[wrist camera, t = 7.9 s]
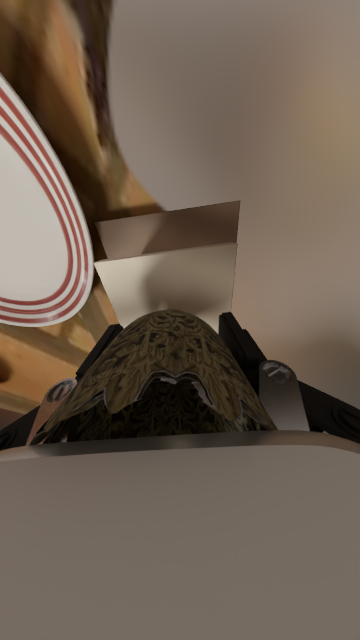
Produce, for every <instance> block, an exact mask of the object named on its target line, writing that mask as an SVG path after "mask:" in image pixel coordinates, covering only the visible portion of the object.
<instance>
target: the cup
mask: <svg viewBox="0 0 360 640" xmlns="http://www.w3.org/2000/svg"><path fill="white" fill-rule="evenodd" d="M79 413H80V414H79ZM77 414H79V422H78V430H77V437H76V441H75V442H77V441H92V440H95V438H96V436H97V434H98V432H99V433H100V435H101V438H102V440H107V439H122V438H138V437H154V436H171V435H187V434H205V433H222V432H240V431H257V429H256V427H257V422H258V423H259V424H260V425H262V426H263V427H265V428H266V429H268V430H278V428H277V427H276V425H275V424H274V422H273V420H272V419H271V417H270V416H269V414H268V413H267V411H266V409H265V408H264V406H263V404H262V403H261V401H260V399H259V398H258V396H257V394H256V393H255V391H254V389H253V388H252V386H251V384H250V383H249V381H248V380H247V378H246V376H245V375H244V373H243V371H242V370H241V368H240V366H239V365H238V363H237V362H236V360H235V358H234V357H233V355H232V354H231V352H230V351H229V349H228V348H227V346H226V345H225V343H224V342H223V340H222V339H221V337H220V336H219V335H218V334H217V333H216V331H215V330H214V329H213V328H212V327H211V326H210V325H209V324H207V323H206V322H205V321H203V320H202V319H200V318H199V317H197V316H195V315H193V314H190V313H187V312H184V311H181V310H178V309H165V310H160V311H155V312H151V313H148V314H146V315H143V316H141V317H139V318H137V319H136V320H134V321H133V322H132V323H130V324H129V325H128V326H127V327H125V328H124V329H123V330H122V331H121V332H120V333H119V334H118V335H117V336H116V337H115V339H114V340H113V341H112V342H111V343H110V344H109V345H108V347H107V348H106V349H105V350H104V351H103V353H102V354H101V355H100V356H99V357H98V359H97V360H96V361H95V362H94V363H93V365H92V366H91V367H90V368H89V369H88V371H87V372H86V373H85V374H84V376H83V377H82V378H81V379H80V381H79V382H78V383H77V384H76V385H75V387H74V388H73V389H72V390H71V392H70V393H69V394H68V395H67V397H66V398H65V399H64V400H63V401H62V403H61V404H60V405H59V406H58V408H57V409H56V410H55V411H54V412H53V413H52V415H51V416H50V418H49V419H48V420H47V421H46V422H45V423H44V424H43V426H42V427H41V428H40V429H39V430H38V431H37V433H36V434H35V436H34V437H33V439H32V441H31V442H30V444H29V445H37V444H39V443H40V442H42V441H43V440H44V439H45V440H44V442H43V444H51V443H52V442H53V441H54V440H55V438H56V437H57V436H58V434H59V433H60V431H61V430H62V428H63V427H64V426H65V424H66V423H67V421H68V420H69V418H70V417H71V416H74V415H77ZM63 420H64V421H63ZM62 421H63V422H62ZM61 422H62V424H61V425H60V423H61ZM59 425H60V427H59V429H58V430H57V432H56V434H55V435H54V437H53V438H52V436H53V434H54V432H55V431H56V429H57V428H58V426H59ZM51 438H52V440H51ZM50 440H51V441H50Z"/></svg>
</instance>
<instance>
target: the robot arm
mask: <svg viewBox="0 0 360 640" xmlns="http://www.w3.org/2000/svg"><path fill="white" fill-rule="evenodd" d="M123 329H124V328H123V326H120V324H114V325H110V326H109V327H108V329H107V330H106V331H105V333H104V334H103V336H102V337H101V338H100V340H99V341H98V343H97V344H96V345H95V347H94V348H93V350H92V351H91V352H90V354H89V355H88V357H87V358H86V359H85V361H84V362H83V364H82V365H81V366H80V368H79V369H78V371H77V372H76V375H77V376H76V378H66V379H63V380H61V381H59V382H58V383H56V384H55V385H53V386H52V387H51V388H50V389H49V390H48V391H47V393H46V394H45V396H44V398H43V400H42V403H41V405H40V406H38V407H36V408H35V409H33V410H32V411H30V412H29V413H27V414H26V415H24V416H22V417H21V418H19V419H18V420H16V421H15V422H13V423H12V424H10V425H8V426H7V427H5V428H4V429H2V430H1V431H0V640H360V410H359V409H357V408H355V407H353V406H351V405H349V404H347V403H345V402H343V401H341V400H339V399H337V398H335V397H332V396H330V395H328V394H326V393H324V392H321V391H320V390H317V389H315V388H313V387H311V386H309V385H307V384H305V383H302V382H300V381H298V380H297V377H296V374H295V373H294V372H293V370H292V369H291V368H290V367H288V366H287V365H285V364H284V363H282V362H279V361H275V360H267V359H266V357H265V356H264V355H263V353H262V352H261V350H260V349H259V348H258V346H257V344H256V343H255V341H254V340H253V338H252V337H251V336H250V334H249V333H248V331H247V330H246V329H242V328H241V327H240V325H239V324H238V322H237V320H236V319H235V317H234V316H233V314H232V313H231V312H224V313H222V315H219V327H218V335H219V336H220V337H221V339H222V340H223V342H224V343H225V345H226V346H227V348H228V349H229V351H230V352H231V354H232V355H233V357H234V358H235V360H236V362H237V363H238V365H239V366H240V368H241V370H242V371H243V373H244V375H245V376H246V378H247V380H248V381H249V383H250V384H251V386H252V388H253V389H254V391H255V393H256V394H257V396H258V398H259V399H260V401H261V403H262V404H263V406H264V408H265V409H266V411H267V413H268V414H269V416H270V417H271V419H272V420H273V422H274V424H275V425H276V427H277V428H278V430H268V429H266V428H265V427H263V426H262V425H260V424H259V423H258V422H257V427H256V429H257V431H240V432H222V433H205V434H187V435H171V436H154V437H138V438H122V439H107V440H102V438H101V435H100V433H99V432H98V434H97V436H96V438H95V440H92V441H77V442H75V441H76V437H77V430H78V422H79V414H80V413H79V414H77V415H74V416H71V417H70V418H69V420H68V421H67V423H66V424H65V426H64V427H63V428H62V430H61V431H60V433H59V434H58V436H57V437H56V438H55V440H54V441H53V442H52V443H51V444H43V442H44V440H45V439H44V440H43V441H42V442H40V443H39V444H37V445H29V444H30V442H31V441H32V439H33V437H34V436H35V434H36V433H37V431H38V430H39V429H40V428H41V427H42V426H43V424H44V423H45V422H46V421H47V420H48V419H49V418H50V416H51V415H52V413H53V412H54V411H55V410H56V409H57V408H58V406H59V405H60V404H61V403H62V401H63V400H64V399H65V398H66V397H67V395H68V394H69V393H70V392H71V390H72V389H73V388H74V387H75V385H76V384H77V383H78V382H79V381H80V379H81V378H82V377H83V376H84V374H85V373H86V372H87V371H88V369H89V368H90V367H91V366H92V365H93V363H94V362H95V361H96V360H97V359H98V357H99V356H100V355H101V354H102V353H103V351H104V350H105V349H106V348H107V347H108V345H109V344H110V343H111V342H112V341H113V340H114V339H115V337H116V336H117V335H118V334H119V333H120V332H121V331H122V330H123ZM63 421H64V420H63ZM63 421H62V422H63ZM62 422H61V423H60V425H61V424H62ZM60 425H59V426H58V428H57V429H56V431H55V432H54V434H53V436H52V438H53V437H54V435H55V434H56V432H57V430H58V429H59V427H60ZM52 438H51V440H52ZM51 440H50V441H51Z"/></svg>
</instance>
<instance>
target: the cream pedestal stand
mask: <svg viewBox="0 0 360 640" xmlns="http://www.w3.org/2000/svg"><path fill="white" fill-rule="evenodd" d="M239 209H240V201H234V202H227V203H221V204H214V205H207V206H201V207H194V208H187V209H181V210H174V211H168V212H161V213H154V214H148V215H141V216H135V217H128V218H122V219H115V220H108V221H102V222H95V226H96V228H97V231H98V234H99V236H100V239H101V242H102V244H103V247H104V249H105V252H106V255H107V257H108V259H104V260H100V261H97V262H95V263H94V265H95V268H96V270H97V272H98V274H99V277H100V279H101V281H102V284H103V286H104V288H105V290H106V293H107V295H108V297H109V299H110V302H111V304H112V306H113V309H114V311H115V313H116V315H117V318H118V320H119V322H120V325H121V326H123V328H125V327H127V326H128V325H129V324H130V323H132V322H133V321H134V320H136V319H137V318H139V317H141V316H143V315H146V314H148V313H151V312H155V311H160V310H165V309H178V310H181V311H184V312H187V313H190V314H193V315H195V316H197V317H199V318H200V319H202V320H203V321H205V322H206V323H207V324H209V325H210V326H211V327H212V328H213V329H214V330H215V331H216V333H217V334H218V327H219V315H222V313H224V312H231V305H232V295H233V285H234V274H235V264H236V254H237V253H236V252H237V243H236V241H237V231H238V220H239Z"/></svg>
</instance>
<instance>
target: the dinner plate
mask: <svg viewBox="0 0 360 640" xmlns="http://www.w3.org/2000/svg"><path fill="white" fill-rule="evenodd" d="M93 277H94V255H93V248H92V242H91V237H90V233H89V229H88V226H87V222H86V219H85V216H84V213H83V210H82V207H81V205H80V202H79V200H78V197H77V195H76V192H75V190H74V188H73V186H72V184H71V182H70V180H69V178H68V176H67V174H66V171H65V169H64V168H63V166H62V164H61V162H60V160H59V158H58V156H57V155H56V153H55V151H54V149H53V148H52V146H51V144H50V143H49V141H48V139H47V137H46V136H45V134H44V132H43V131H42V129H41V128H40V126H39V125H38V123H37V122H36V120H35V119H34V117H33V116H32V114H31V113H30V111H29V110H28V108H27V107H26V106H25V104H24V103H23V101H22V100H21V99H20V97H19V96H18V95H17V93H16V92H15V91H14V89H13V88H12V87H11V85H10V84H9V83H8V82H7V80H6V79H5V78H4V76H3V75H2V74H1V73H0V322H1V323H5V324H10V325H17V326H27V327H39V326H48V325H53V324H57V323H60V322H63V321H65V320H67V319H69V318H70V317H72V316H73V315H75V314H76V313H77V312H78V311H79V310H80V309H81V308H82V306H83V305H84V304H85V302H86V300H87V298H88V296H89V294H90V291H91V288H92V284H93Z"/></svg>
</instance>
